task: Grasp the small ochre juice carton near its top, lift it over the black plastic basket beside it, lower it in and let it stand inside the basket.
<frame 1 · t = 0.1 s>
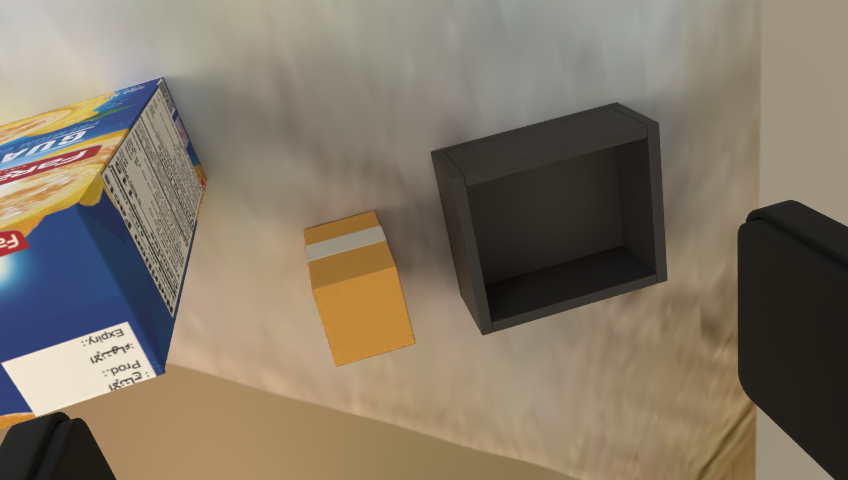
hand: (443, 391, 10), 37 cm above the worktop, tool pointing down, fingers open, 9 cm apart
blue yellow food box: (101, 155, 43), on the worktop
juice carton: (348, 254, 49), on the worktop
basket: (536, 202, 50), on the worktop
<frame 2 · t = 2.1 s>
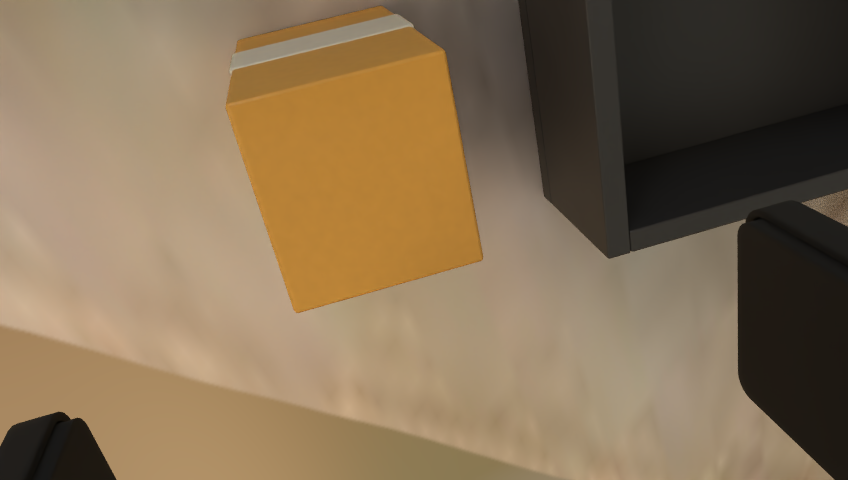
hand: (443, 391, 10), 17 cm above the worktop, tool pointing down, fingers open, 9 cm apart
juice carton: (331, 101, 24), on the worktop
basket: (697, 8, 26), on the worktop
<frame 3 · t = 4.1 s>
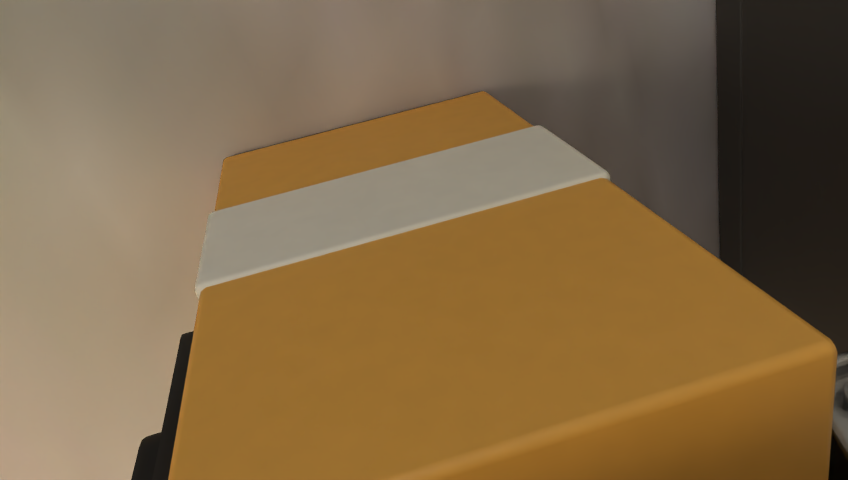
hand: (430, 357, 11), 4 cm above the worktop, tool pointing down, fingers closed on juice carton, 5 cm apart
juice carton: (389, 252, 14), on the worktop, touching gripper
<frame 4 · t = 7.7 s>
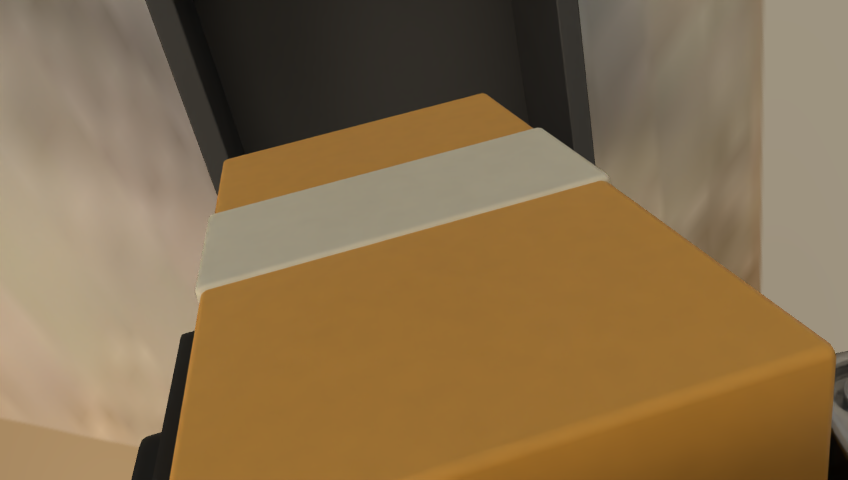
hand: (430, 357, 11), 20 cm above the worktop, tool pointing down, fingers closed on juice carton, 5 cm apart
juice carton: (389, 254, 14), point 17 cm above the worktop, touching gripper
basket: (374, 72, 29), on the worktop
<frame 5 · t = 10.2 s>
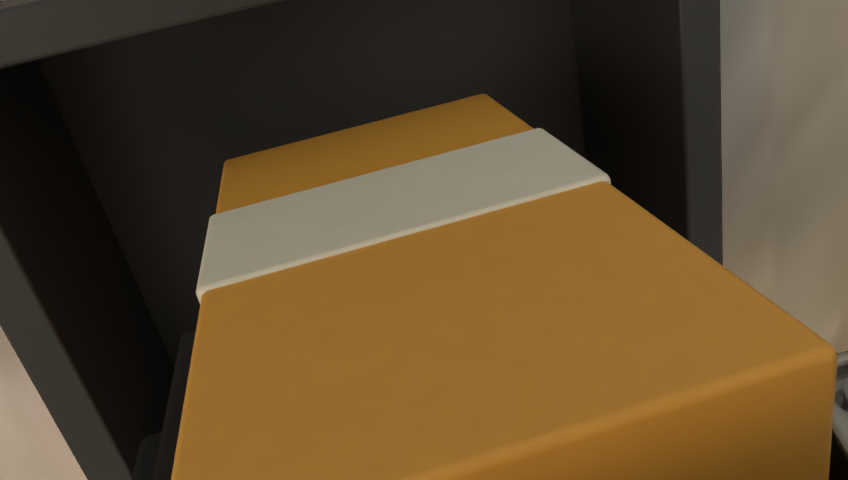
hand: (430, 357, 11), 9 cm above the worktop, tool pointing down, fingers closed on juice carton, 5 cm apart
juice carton: (389, 254, 14), point 5 cm above the worktop, touching gripper
basket: (355, 171, 18), on the worktop
when the fingers open (5 cm above the worktop, at t = 11.6 s): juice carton stays where it is, resting on basket.
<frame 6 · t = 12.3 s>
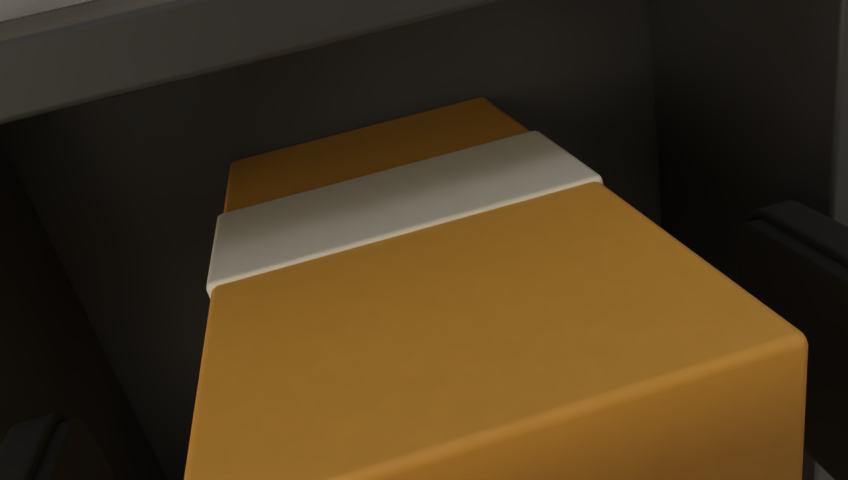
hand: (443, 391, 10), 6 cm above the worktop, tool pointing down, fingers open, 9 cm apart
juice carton: (391, 253, 14), point 1 cm above the worktop, touching basket
basket: (383, 234, 15), on the worktop
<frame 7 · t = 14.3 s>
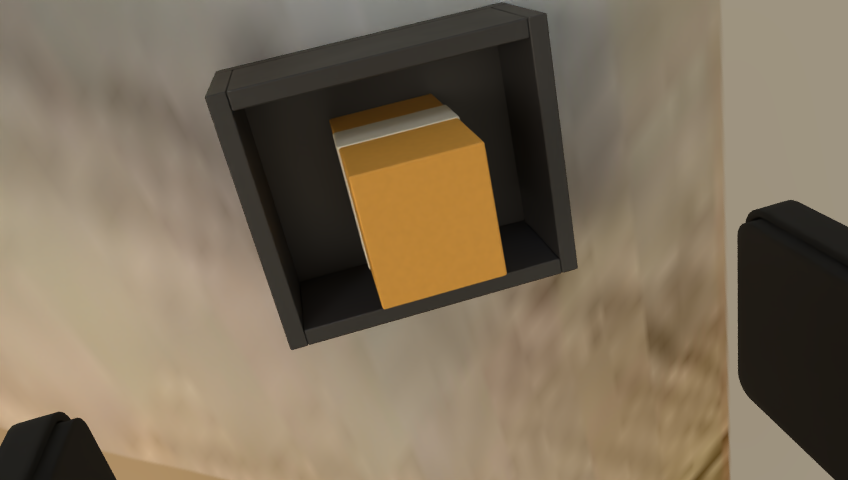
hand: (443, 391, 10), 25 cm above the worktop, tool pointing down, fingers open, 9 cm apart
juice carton: (393, 160, 34), point 1 cm above the worktop, touching basket
basket: (389, 154, 34), on the worktop
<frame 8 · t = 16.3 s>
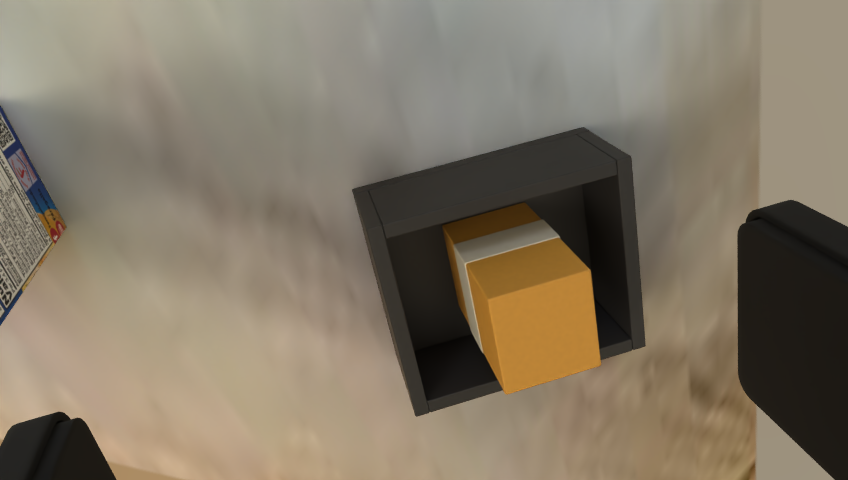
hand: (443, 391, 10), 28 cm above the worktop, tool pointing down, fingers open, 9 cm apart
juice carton: (491, 255, 41), point 1 cm above the worktop, touching basket
basket: (486, 248, 41), on the worktop
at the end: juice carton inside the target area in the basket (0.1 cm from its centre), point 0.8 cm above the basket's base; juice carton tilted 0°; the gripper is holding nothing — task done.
